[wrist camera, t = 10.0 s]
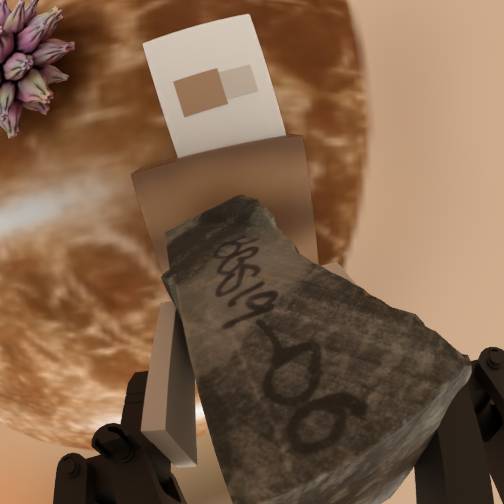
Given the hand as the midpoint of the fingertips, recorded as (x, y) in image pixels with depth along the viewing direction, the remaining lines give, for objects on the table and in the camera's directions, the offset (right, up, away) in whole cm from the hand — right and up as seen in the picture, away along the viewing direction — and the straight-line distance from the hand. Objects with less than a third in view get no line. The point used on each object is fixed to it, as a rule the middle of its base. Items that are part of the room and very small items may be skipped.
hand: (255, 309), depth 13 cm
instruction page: (-3, +16, +8) cm, 18 cm away
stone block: (0, +2, +5) cm, 5 cm away
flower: (-19, +18, +4) cm, 27 cm away
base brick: (-2, +6, +12) cm, 14 cm away
